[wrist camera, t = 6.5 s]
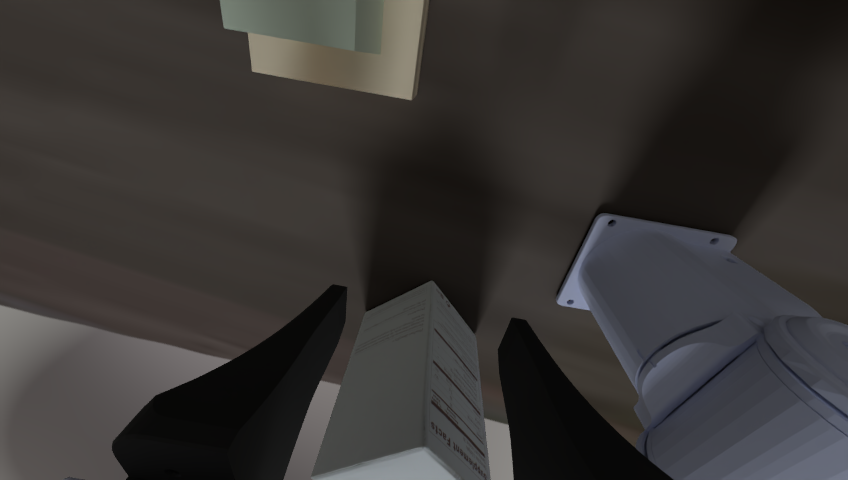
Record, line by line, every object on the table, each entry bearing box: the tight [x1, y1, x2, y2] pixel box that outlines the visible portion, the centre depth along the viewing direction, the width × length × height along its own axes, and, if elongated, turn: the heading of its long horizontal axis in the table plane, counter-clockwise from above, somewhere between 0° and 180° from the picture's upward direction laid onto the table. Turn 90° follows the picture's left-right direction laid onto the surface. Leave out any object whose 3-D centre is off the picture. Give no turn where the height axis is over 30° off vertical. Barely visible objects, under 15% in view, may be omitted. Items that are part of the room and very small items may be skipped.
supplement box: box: [311, 281, 490, 480], centre depth 21 cm, size 7×7×13 cm
